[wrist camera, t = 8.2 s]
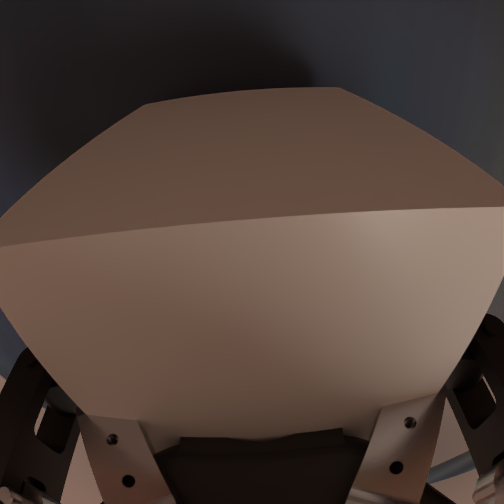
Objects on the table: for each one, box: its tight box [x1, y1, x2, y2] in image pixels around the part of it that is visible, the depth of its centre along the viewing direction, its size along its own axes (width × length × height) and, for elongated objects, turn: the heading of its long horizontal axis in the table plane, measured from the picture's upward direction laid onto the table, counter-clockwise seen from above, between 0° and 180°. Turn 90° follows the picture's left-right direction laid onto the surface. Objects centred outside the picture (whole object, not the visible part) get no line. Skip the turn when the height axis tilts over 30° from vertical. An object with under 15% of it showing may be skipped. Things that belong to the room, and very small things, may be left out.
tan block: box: [0, 87, 504, 453], centre depth 9 cm, size 7×11×9 cm, turn 5°
